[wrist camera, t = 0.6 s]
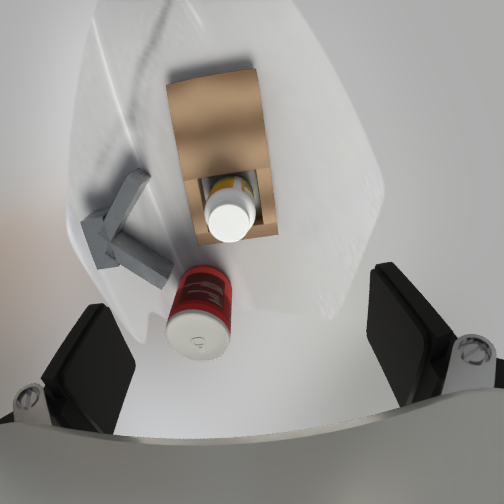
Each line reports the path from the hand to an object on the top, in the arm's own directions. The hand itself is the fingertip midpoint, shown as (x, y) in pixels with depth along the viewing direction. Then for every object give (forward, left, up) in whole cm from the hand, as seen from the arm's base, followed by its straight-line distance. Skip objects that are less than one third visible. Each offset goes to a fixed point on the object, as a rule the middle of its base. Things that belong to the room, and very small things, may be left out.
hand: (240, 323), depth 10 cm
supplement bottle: (+4, -2, -29) cm, 29 cm away
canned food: (+16, -8, -29) cm, 34 cm away
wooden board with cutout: (-1, -2, -28) cm, 28 cm away
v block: (+6, -16, -28) cm, 33 cm away
